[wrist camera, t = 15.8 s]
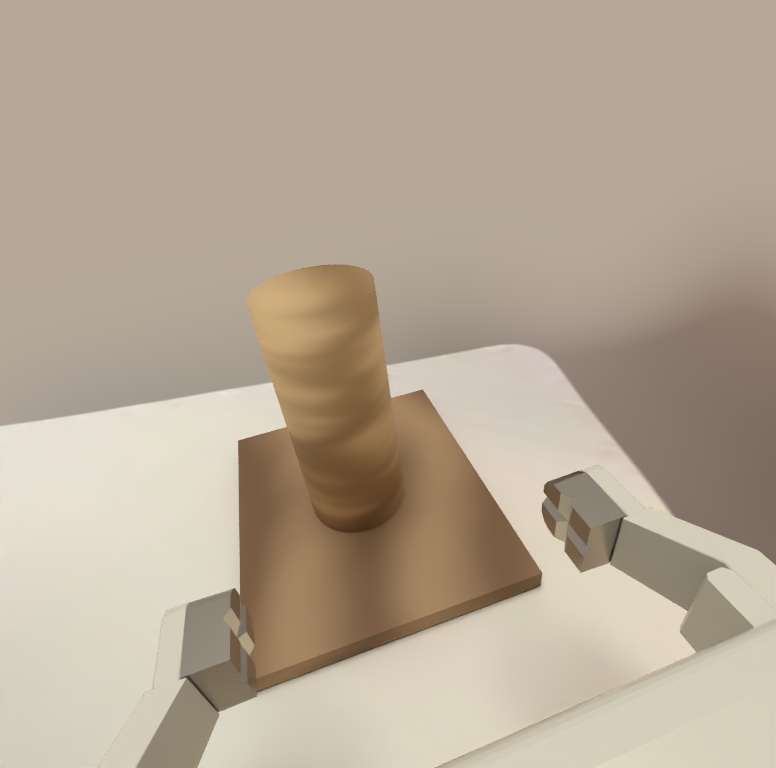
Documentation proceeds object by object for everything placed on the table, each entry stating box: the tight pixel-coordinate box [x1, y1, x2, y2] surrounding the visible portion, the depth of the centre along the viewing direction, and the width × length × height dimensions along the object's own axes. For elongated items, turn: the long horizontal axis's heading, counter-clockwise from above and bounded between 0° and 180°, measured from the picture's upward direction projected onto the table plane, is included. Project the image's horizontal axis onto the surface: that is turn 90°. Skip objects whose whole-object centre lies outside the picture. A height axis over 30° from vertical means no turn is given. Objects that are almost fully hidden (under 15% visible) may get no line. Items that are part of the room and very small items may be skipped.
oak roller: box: [247, 265, 404, 533], centre depth 21 cm, size 5×5×12 cm
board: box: [238, 390, 542, 692], centre depth 24 cm, size 13×15×1 cm
